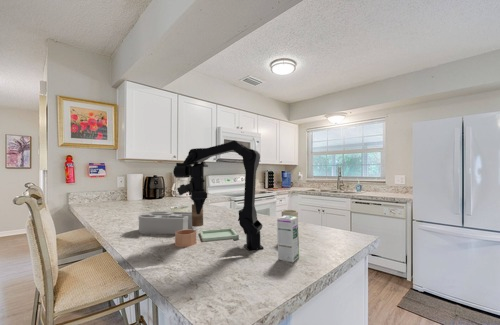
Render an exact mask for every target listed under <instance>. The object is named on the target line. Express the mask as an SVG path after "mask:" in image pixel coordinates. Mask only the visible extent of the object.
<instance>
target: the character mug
mask: <svg viewBox="0 0 500 325" xmlns="http://www.w3.org/2000/svg"><path fill="white" fill-rule="evenodd" d="M298 212H299V211H298V210H295V209H282V210H281V217H282V216H296V217H298V218H299V215H298V214H299V213H298Z"/></svg>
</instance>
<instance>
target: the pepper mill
mask: <svg viewBox="0 0 500 325" xmlns="http://www.w3.org/2000/svg"><path fill="white" fill-rule="evenodd" d="M191 212H192V226H194V227H196V228H197V227H202V226H204V206H203V207H202V209H201V212H200V214H197V212H196V207H195V202H193V204H191Z"/></svg>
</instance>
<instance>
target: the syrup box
mask: <svg viewBox="0 0 500 325" xmlns="http://www.w3.org/2000/svg"><path fill="white" fill-rule="evenodd" d="M276 226H277V228H276V229H277V231H276V232H277V259H278V260H279V261H282V262H283V261H284V262H288V263H294V262H295V261H296V260H297V259H298V258H300V243H299V241H300V240H299V216H298V217H296V216H282V215H281V217H277V219H276Z"/></svg>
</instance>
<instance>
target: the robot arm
mask: <svg viewBox="0 0 500 325" xmlns="http://www.w3.org/2000/svg"><path fill="white" fill-rule="evenodd" d="M231 152H235V153H236V154H237V155H239V156H240V157H242V163H243V167H244V170H245V173H244V174H245V175H244V176H245V178H244V196H243V208H241V209H240V210H238V219H237V222H239V223H238V224H239V226H240V227H241V228H242V229H243V233H244V235H246V236H245V237H246V239H245V240H246V243H245V244H243V247H244V248H245V249H246V250H247V251H256V250H263V249H264V246H263V245H262V244H261V230H262V229H263V223H261V222H260V220H258V214H257V210H256V206H255V203H256V202H255V201H256V200H255V199H256V182H257V181H256V180H257V179H256V178H257V177H256V176H257V171H258V168H259V166H260V165H259V164H260V160H261V154H260V152H259V151H257V150H256V149H252V148H248V147H247V146H245V145H243V144H242V143H241V142H239V141H237V140H231V141H228V142H224V143H221V144H218V145H214V146H210V147H201V148H200V147H199V148H197V147H196V148H191V149H189V151H188V153H187V154H188V155H187V156H186V158H185V159H184V161H183V162H176V164H175V166H174V168H173V173H172V174H173V176H174V177H175V178H176V179H177V178H178V179H183V178H184V179H188V178H190V179H189V182H188V183H187V184H184V183H183V184H180V185H179V186H178V187H177V188H176V190H177V193H178V195H179V196H182V195H184V194H186V193H188V196H189V198H190V199H191V201H193V203H194V202H195V207H196V212H197V214H200V212H201V209H202V207H203V208H204V204H205V201H206V200H207V199H208V193H207V192H206V190H205V179H204V178H205V175H204V173H205V172H204V168H209V165H208V164H207V163H206V162H205V161H206V160H209V159H210V158H212V157H216V156H220V155H223V154H227V153H231Z"/></svg>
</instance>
